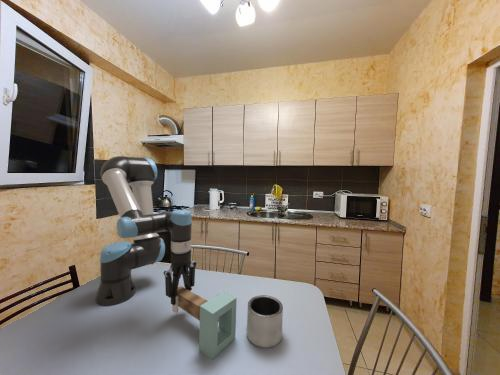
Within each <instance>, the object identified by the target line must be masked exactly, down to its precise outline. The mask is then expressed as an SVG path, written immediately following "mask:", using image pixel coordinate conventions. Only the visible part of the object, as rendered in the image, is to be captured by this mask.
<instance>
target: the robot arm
mask: <svg viewBox="0 0 500 375" xmlns="http://www.w3.org/2000/svg"><path fill="white" fill-rule="evenodd" d="M157 178H158V168H157V165H156V163H155V161H154V160H152V158H147V157H137V156H134V157H133V156H125V155H124V156H123V155H122V156H121V155H120V156H119V155H117V156H113V157H111V158H109V159H107V161H104V163H103V165H102V166H101V169H100V179H101V180H102V183H104V185H106V186H107V189H108V191H109V193H110V195H111V199H112V200H113V203H114V205H115V208H116V210H117V212H118V215H119V218H118V219H117V222H116V232H117V235H118V236H119V238H120V239H128V238H129V239H130V238H133V243H131V242H130V241H117V242H113V243H110V244H108V245H106V246H104V247H103V248H102V249H101V250H100V256H99V262H100V268H99V270H100V283H99V286H98V288H97V291H96V294H95V302H96V303H97V304H98V305H100V306H113V305H117V304H118V305H119V304H121V303H124V302H127V301H128V300H129V299H131V298H132V297H133V296H134V295H135V294H136V284H135V282H134V279H133V277H132V270H136V269H138V268H142V267H144V266H150V265H154V264H155V263H159V262H161V261H162V260H163V258H164V256H165V251H166V244H165V242H164V239H163V238H161V237H160V234H158V233H162V232H169V233H170V263H171V264H170V266H169V267H170V268H169V269H167V270H164V271H163V275H164V280H165V283H164V284H165V285H164V286H165V296H167V298H170V304H171V305H172V310H171V311H173V312H174V313H176V314H178V313H179V307H178V296H177V290H178V287H179V284H180V279H181V276H182V280H183V285H184V286H183V287H184V288H186V289H187V290H189V291H191V292H192V290H193V288H192V287H194V286H195V282H196V281H195V278H196V277H195V276H196V267H197V262H196V261H194V260H191V259H192V222H193V220H192V219H193V218H192V212H191V211H190V210H188V209H175V210H172V211H169V210H168V211H166V210H162V211H160V212H158V213H154V207H153V206H154V205H153V204H154V203H153V193H152V185H153V184H154V183H155V182H154V181H155V180H157Z"/></svg>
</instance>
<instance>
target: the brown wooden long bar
mask: <svg viewBox="0 0 500 375" xmlns="http://www.w3.org/2000/svg"><path fill="white" fill-rule="evenodd" d="M177 296H178V308H180V309H181V310H183V311H184V312H186V313H187V314H189V315H191V316H192V317H194V318H195V319H196V320H198V321H199V322H200V306H201V305H202V304H204V303H206V302H207V301H208V300H207V299H206V298H204V297H202V296H200V295H199V296H198V294H196V293H194V292H192V290H191V291H189V290H187V289H186V288H185V286H183V285H178V290H177ZM201 297H202V298H201ZM203 298H204V299H203ZM205 299H206V300H205ZM218 322H219V318H218Z"/></svg>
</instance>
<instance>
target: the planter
mask: <svg viewBox="0 0 500 375" xmlns="http://www.w3.org/2000/svg"><path fill="white" fill-rule="evenodd" d="M283 309H284V306H283V304H282V302H281V301H280V300H279V299H278V298H276V297H273V296H270V295H265V294H263V295H262V294H261V295H256V296H254V297H251V299H249V300H248V302H247V317H246V318H247V319H246V335H247V338H248V339H249V341H250V342H251V344H252V343H253V344H254V345H255V346H258V347H261V348H271V347H272V348H273V347H275V346H276V345H278V344H279V343H280V342H281V340H282V337H283V318H284V317H283V315H284V314H283V313H284V310H283Z"/></svg>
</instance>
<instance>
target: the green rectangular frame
mask: <svg viewBox="0 0 500 375" xmlns="http://www.w3.org/2000/svg"><path fill="white" fill-rule="evenodd" d="M218 318H219V321H218ZM236 323H237V297H236V296H234V295H233V294H230V293H227V292H226V291H222V292H220V293H219V294H217V295H216V296H214V297H212V298H211V299H209V300H207V302H206V303H204V304H202V305H201V306H200V321H199V336H198V338H199V341H198V342H199V345H198V347H199V348H198V350H200V351H201V352H202V353H204V354H205V355H206V356H208V357H209V358H210V359H211V360H213V359H214V358H215V357H216V356H217V355H218V354H219V353H221V352H222V351H223V350H224V349H225V348H226V347H227V346H228V345H229V344H230V343H231V342H233V341H234V340H235V339H236V328H237V327H236V326H237V324H236Z"/></svg>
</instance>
